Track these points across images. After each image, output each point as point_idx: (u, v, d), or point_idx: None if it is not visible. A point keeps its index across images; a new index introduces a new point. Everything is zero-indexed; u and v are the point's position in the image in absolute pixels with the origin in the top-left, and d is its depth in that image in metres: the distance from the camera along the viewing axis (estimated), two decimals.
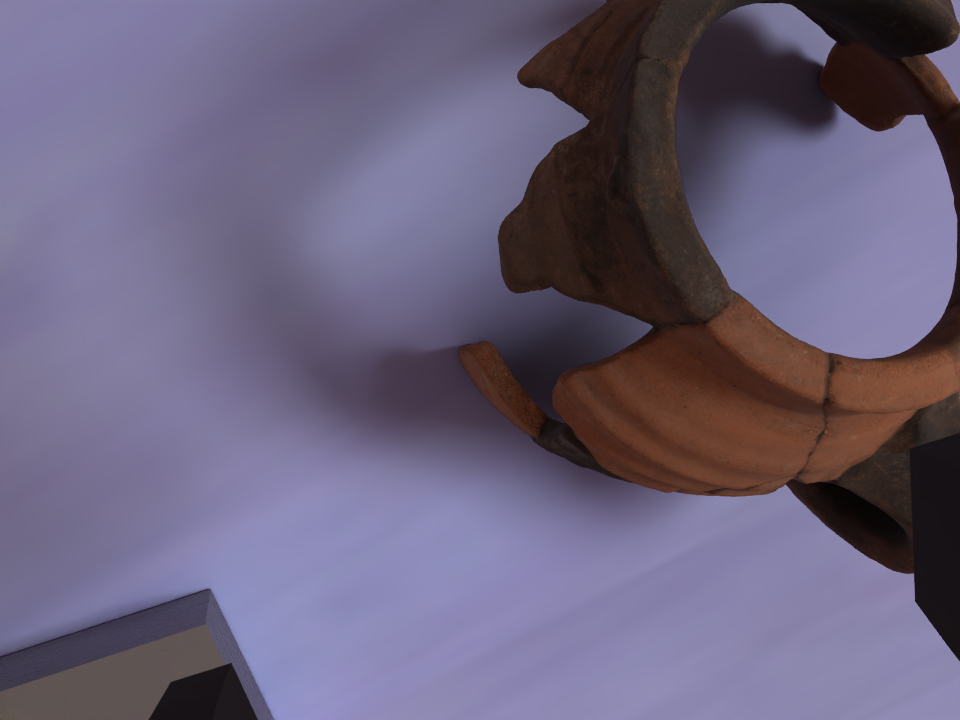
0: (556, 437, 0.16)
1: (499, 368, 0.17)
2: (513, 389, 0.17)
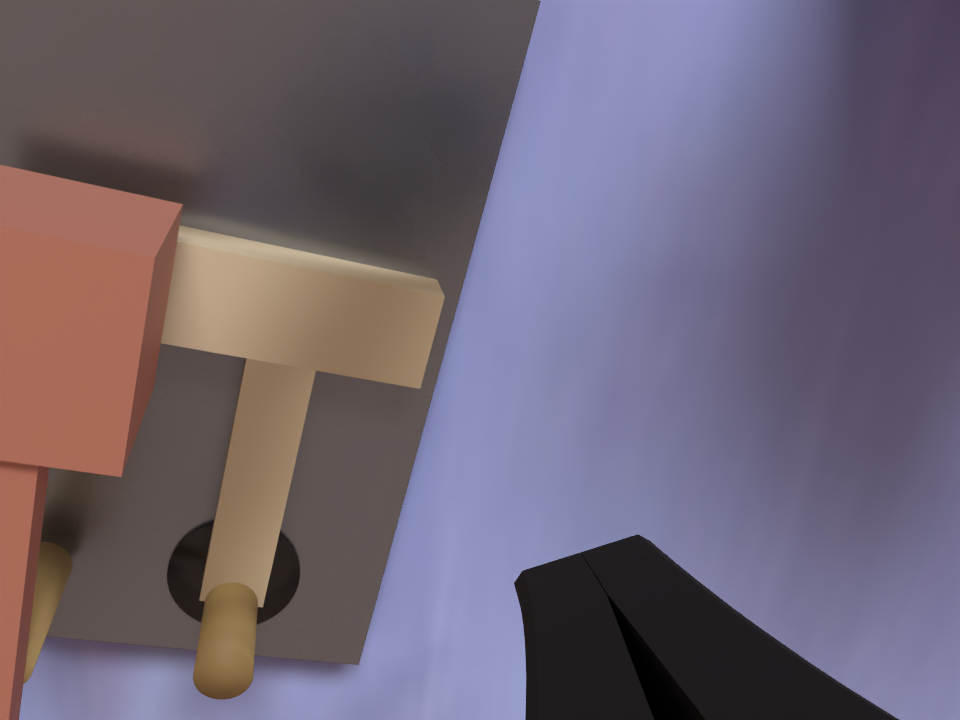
0: None
1: None
2: None
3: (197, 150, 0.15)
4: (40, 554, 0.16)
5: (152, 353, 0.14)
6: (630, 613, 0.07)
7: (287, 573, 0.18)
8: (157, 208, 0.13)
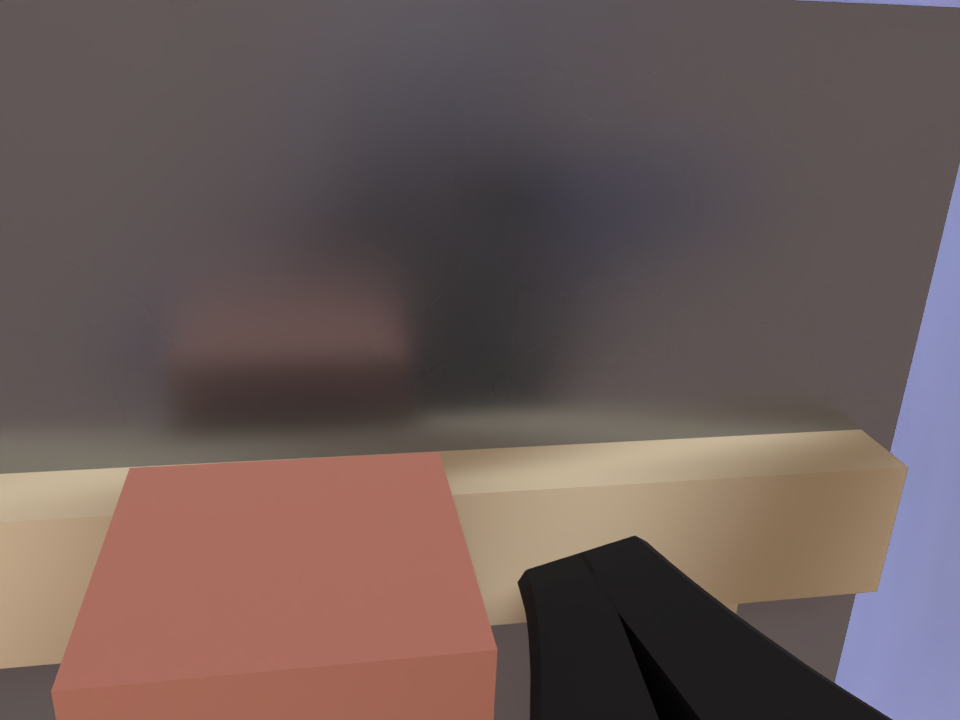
0: None
1: None
2: None
3: (528, 344, 0.10)
4: None
5: None
6: (627, 614, 0.07)
7: None
8: (416, 481, 0.09)
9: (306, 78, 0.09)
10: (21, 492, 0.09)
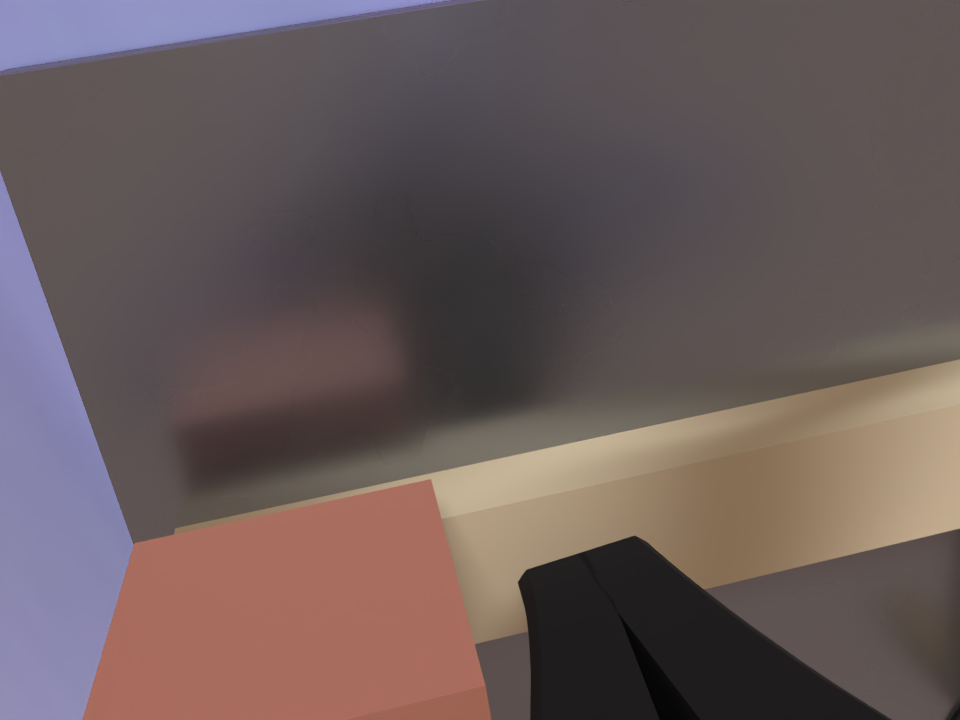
0: None
1: None
2: None
3: (936, 267, 0.11)
4: None
5: None
6: (626, 614, 0.07)
7: None
8: (408, 515, 0.09)
9: (745, 51, 0.09)
10: (517, 473, 0.10)
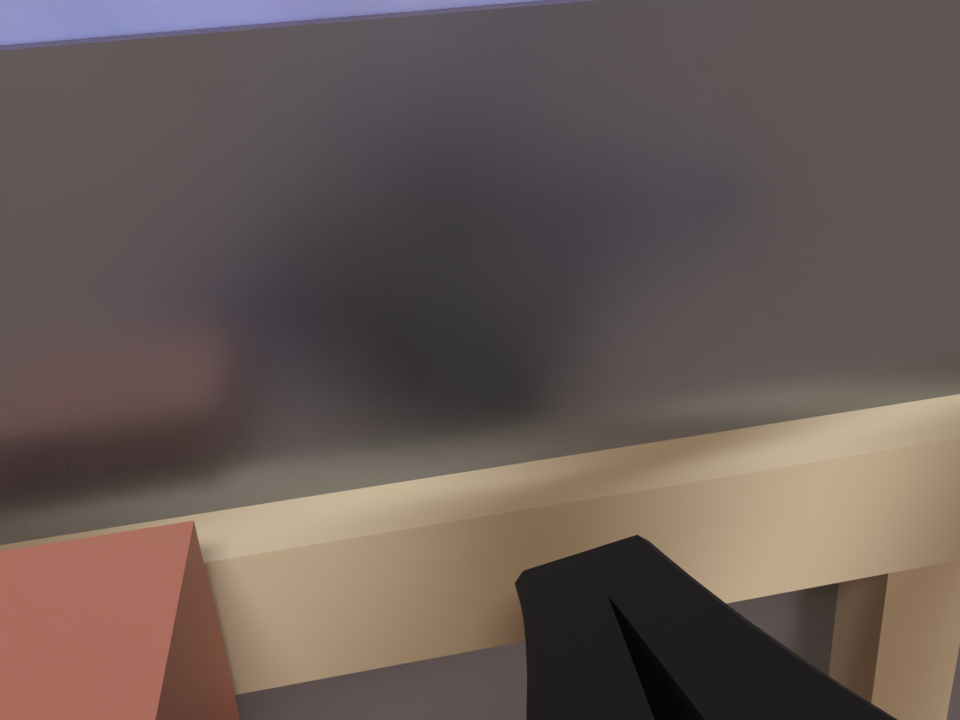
0: None
1: None
2: None
3: (758, 327, 0.11)
4: None
5: None
6: (629, 613, 0.07)
7: None
8: (153, 559, 0.08)
9: (552, 98, 0.09)
10: (309, 516, 0.10)
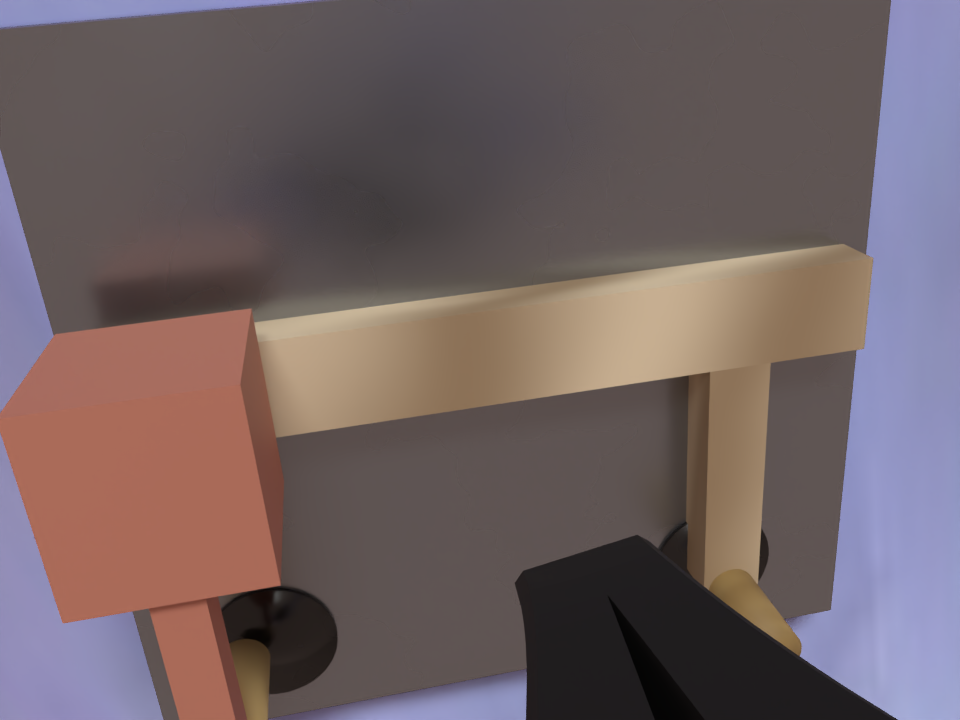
0: None
1: None
2: None
3: (617, 203, 0.16)
4: (238, 653, 0.17)
5: (270, 457, 0.14)
6: (629, 613, 0.07)
7: None
8: (229, 323, 0.14)
9: (473, 48, 0.15)
10: (322, 321, 0.16)
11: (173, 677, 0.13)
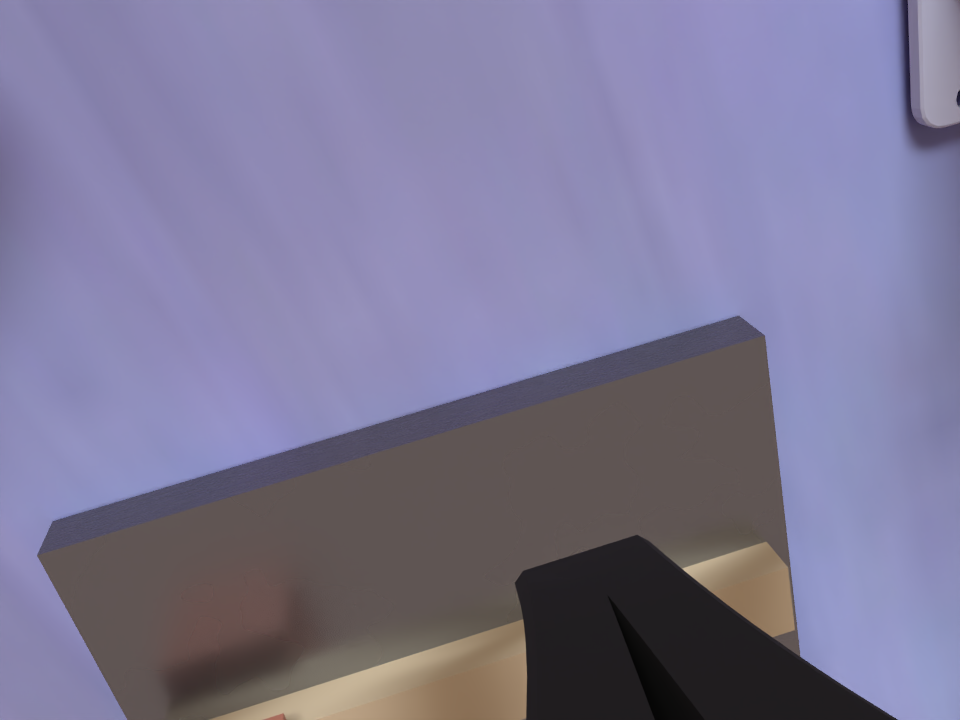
0: None
1: None
2: None
3: (567, 554, 0.20)
4: None
5: None
6: (629, 613, 0.07)
7: None
8: None
9: (427, 478, 0.18)
10: (341, 691, 0.19)
11: None
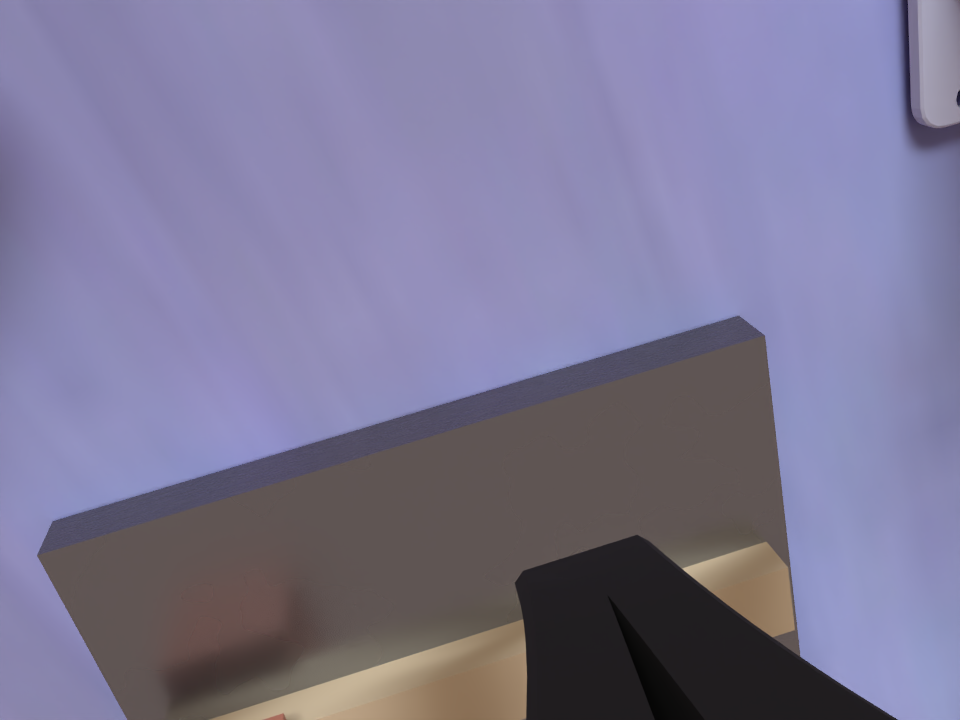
0: None
1: None
2: None
3: (567, 554, 0.20)
4: None
5: None
6: (629, 613, 0.07)
7: None
8: None
9: (427, 478, 0.18)
10: (341, 691, 0.19)
11: None
